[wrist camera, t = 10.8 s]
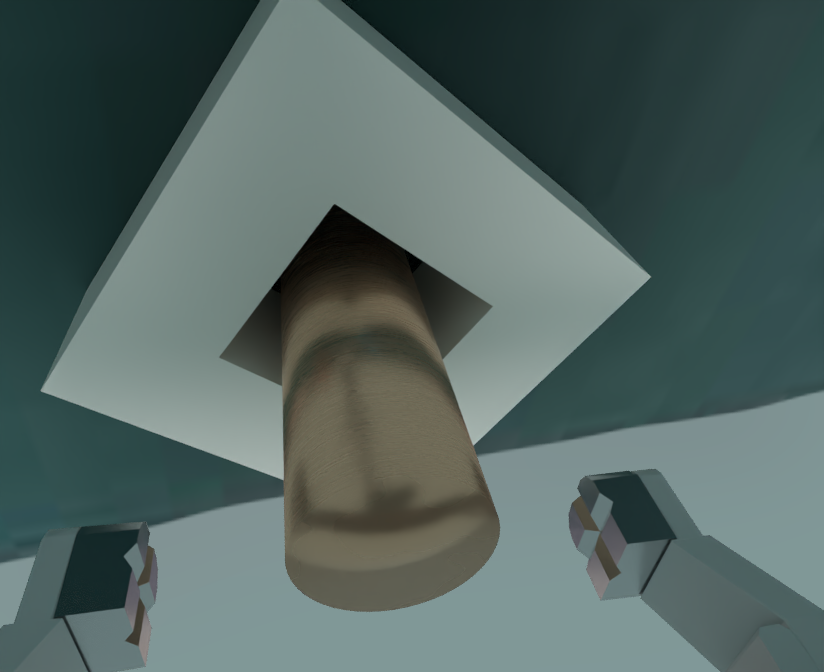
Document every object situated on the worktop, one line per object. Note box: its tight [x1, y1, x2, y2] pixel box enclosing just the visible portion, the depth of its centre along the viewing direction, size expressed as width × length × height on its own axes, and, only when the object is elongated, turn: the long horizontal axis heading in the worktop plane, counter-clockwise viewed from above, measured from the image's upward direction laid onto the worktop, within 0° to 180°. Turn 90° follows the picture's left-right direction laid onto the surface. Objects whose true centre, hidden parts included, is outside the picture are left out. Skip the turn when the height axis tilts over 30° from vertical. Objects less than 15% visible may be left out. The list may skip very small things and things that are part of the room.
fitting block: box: [41, 0, 651, 480], centre depth 19 cm, size 12×12×5 cm
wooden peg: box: [280, 204, 500, 612], centre depth 16 cm, size 4×4×12 cm
